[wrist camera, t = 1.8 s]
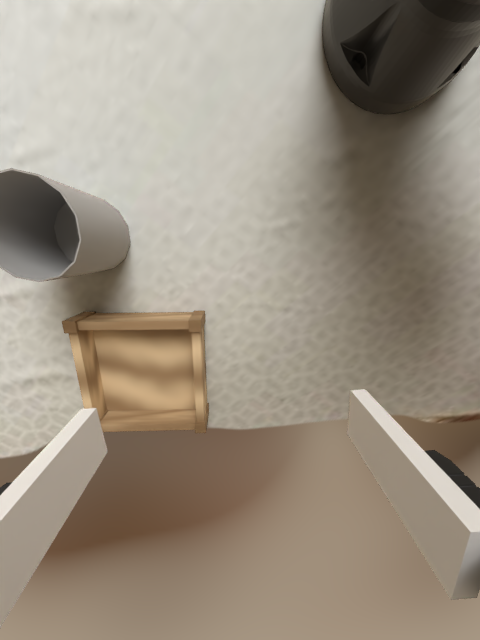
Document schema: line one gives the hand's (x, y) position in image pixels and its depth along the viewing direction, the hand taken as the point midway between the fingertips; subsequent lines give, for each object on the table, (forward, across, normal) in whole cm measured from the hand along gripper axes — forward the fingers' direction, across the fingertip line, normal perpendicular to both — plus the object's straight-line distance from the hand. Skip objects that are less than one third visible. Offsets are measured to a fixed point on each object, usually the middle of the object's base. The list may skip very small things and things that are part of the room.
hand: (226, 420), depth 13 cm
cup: (+21, -15, +11) cm, 28 cm away
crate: (+20, -11, -6) cm, 24 cm away
